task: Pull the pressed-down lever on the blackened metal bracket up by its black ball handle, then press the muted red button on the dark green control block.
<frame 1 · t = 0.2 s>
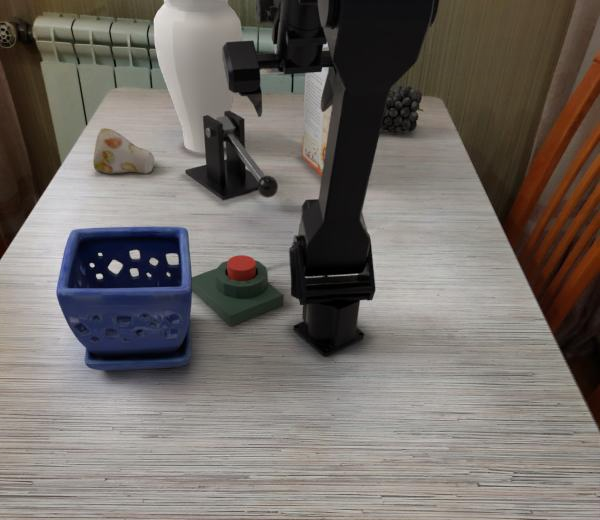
hand: (291, 111, 85), 15 cm above the table, tool tilted 30°, fingers open, 9 cm apart
lever: (245, 157, 95), point 7 cm above the table, hinge at -22.0°
fruit: (382, 130, 123), on the table
flower pot: (142, 345, 71), on the table
control block: (236, 297, 79), on the table
vase: (206, 148, 113), on the table
button: (241, 268, 76), point 4 cm above the table, slide at 0.1 cm
cracker box: (330, 173, 108), on the table
bracket: (226, 183, 103), on the table
white tapered piece: (127, 173, 104), on the table
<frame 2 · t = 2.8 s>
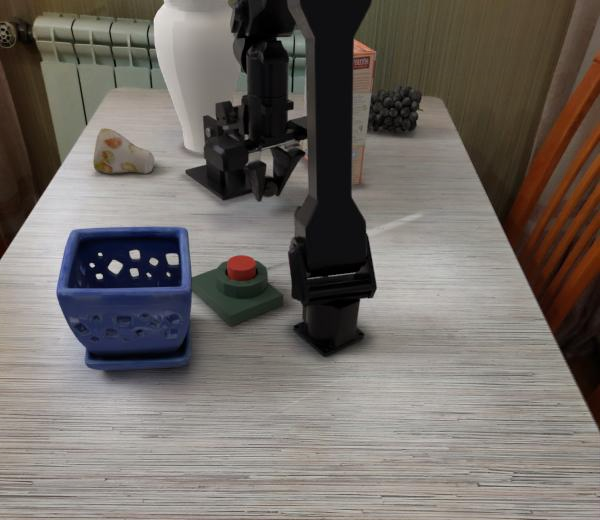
hand: (267, 197, 94), 2 cm above the table, tool pointing down, fingers closed on lever, 3 cm apart
lever: (245, 157, 95), point 7 cm above the table, hinge at -22.0°, touching gripper
everything else where it was.
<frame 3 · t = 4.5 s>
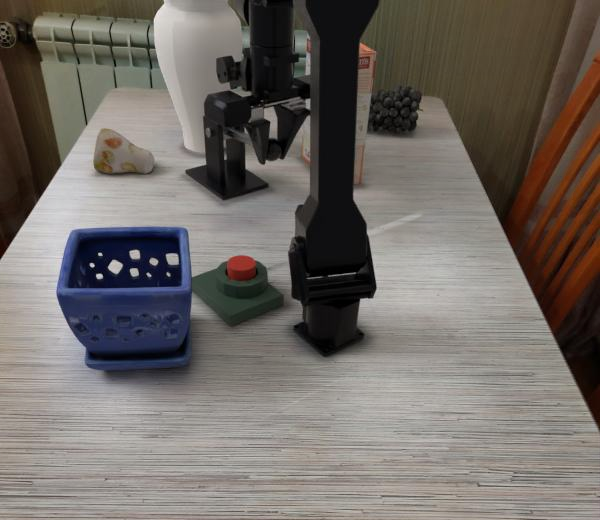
hand: (271, 161, 89), 8 cm above the table, tool pointing down, fingers closed on lever, 3 cm apart
lever: (246, 139, 92), point 10 cm above the table, hinge at 5.1°, touching gripper
everything else where it was.
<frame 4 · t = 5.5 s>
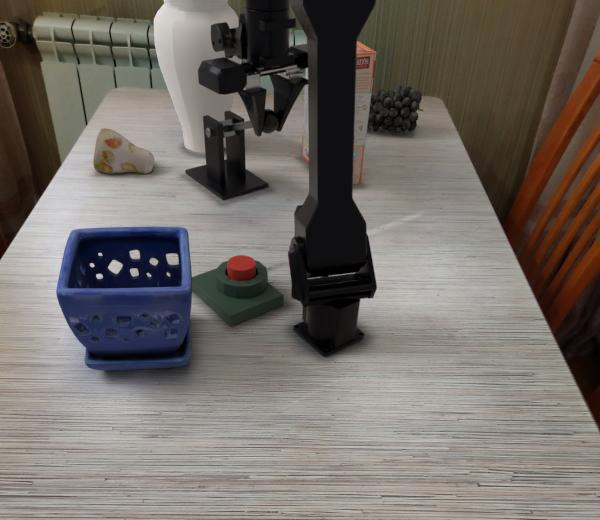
hand: (268, 133, 87), 12 cm above the table, tool pointing down, fingers closed on lever, 3 cm apart
lever: (245, 125, 91), point 11 cm above the table, hinge at 22.1°, touching gripper
everything else where it was.
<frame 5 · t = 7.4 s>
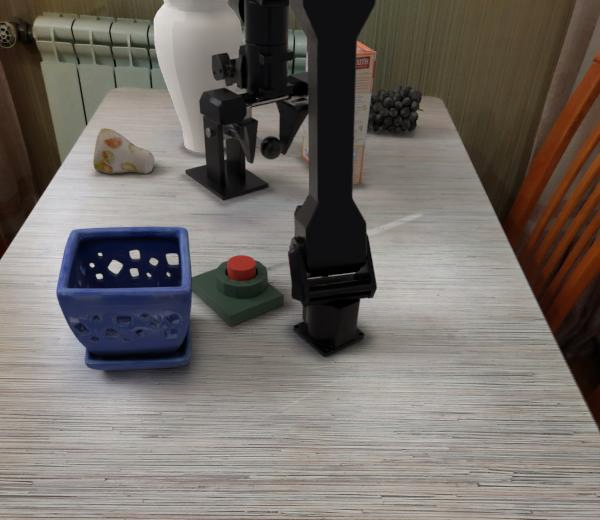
hand: (266, 158, 90), 8 cm above the table, tool pointing down, fingers open, 6 cm apart
lever: (246, 138, 92), point 10 cm above the table, hinge at 6.2°
everything else where it was.
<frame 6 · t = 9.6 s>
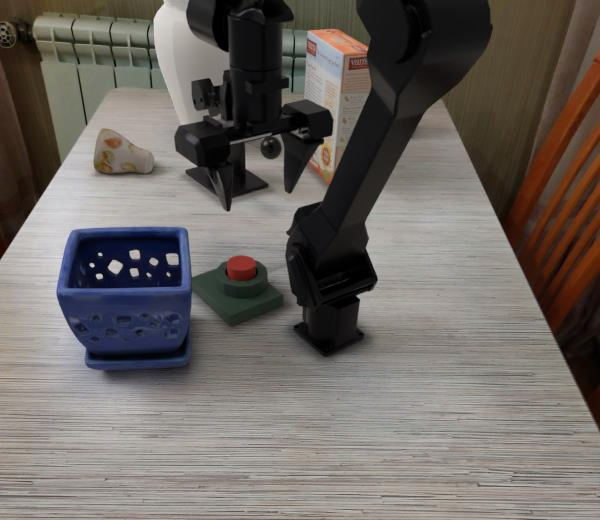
hand: (258, 201, 76), 11 cm above the table, tool pointing down, fingers open, 9 cm apart
nothing on the table moved.
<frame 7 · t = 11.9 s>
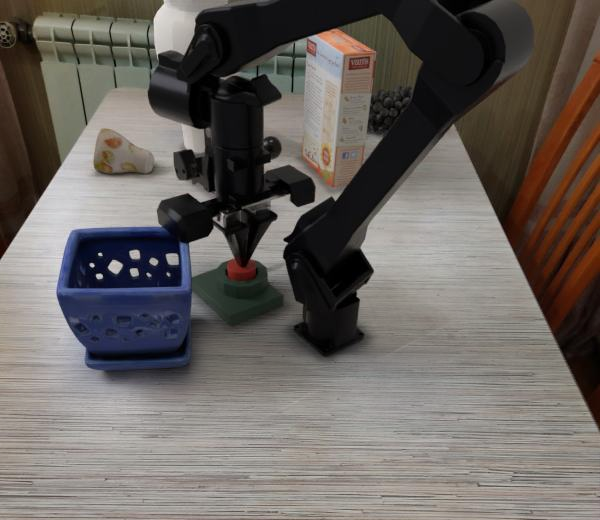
hand: (241, 265, 76), 4 cm above the table, tool pointing down, fingers closed, pressing on button
button: (241, 270, 77), point 4 cm above the table, slide at -0.3 cm, touching gripper
everything else where it was.
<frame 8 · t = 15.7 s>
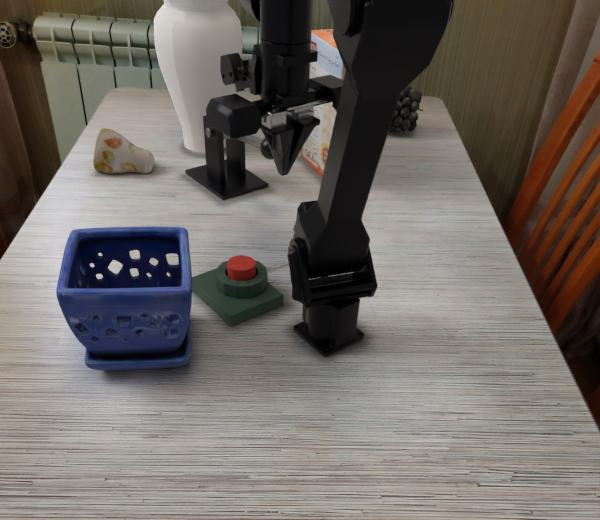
hand: (282, 174, 78), 12 cm above the table, tool pointing down, fingers closed
button: (241, 268, 76), point 4 cm above the table, slide at 0.1 cm
everything else where it was.
at the end: lever reached +22° during the clip, +6° at the end; lever at +6° (first picture: -22°); button pushed in 1.2 cm at the most during the clip, back to where it started at the end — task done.
